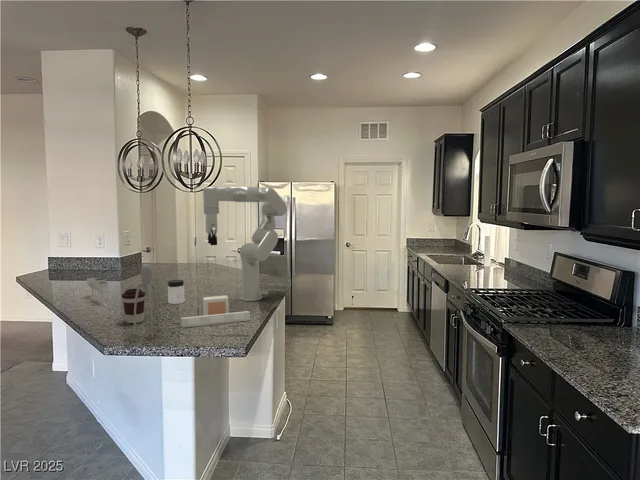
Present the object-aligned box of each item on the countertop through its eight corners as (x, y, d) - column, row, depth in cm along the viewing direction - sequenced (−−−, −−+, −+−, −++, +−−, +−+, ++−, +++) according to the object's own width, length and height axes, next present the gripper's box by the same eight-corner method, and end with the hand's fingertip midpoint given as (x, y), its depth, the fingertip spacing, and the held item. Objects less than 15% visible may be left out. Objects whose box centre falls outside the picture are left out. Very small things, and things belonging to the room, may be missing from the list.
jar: (170, 304, 234) (169, 283, 233) (166, 302, 241) (165, 280, 240) (187, 302, 239) (186, 281, 238) (182, 299, 246) (181, 278, 245)
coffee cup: (123, 325, 196) (121, 293, 195) (123, 320, 205) (121, 288, 204) (146, 323, 200) (145, 290, 199) (146, 317, 209) (144, 287, 208)
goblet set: (111, 304, 238) (109, 280, 237) (99, 306, 234) (98, 281, 233) (97, 296, 259) (95, 274, 258) (86, 297, 255) (85, 275, 254)
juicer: (138, 331, 188) (135, 262, 185) (160, 330, 188) (157, 261, 186) (130, 338, 177) (126, 265, 175) (153, 337, 178) (149, 265, 175)
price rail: (249, 319, 204) (248, 311, 204) (250, 320, 202) (249, 312, 202) (182, 326, 194) (181, 317, 193) (182, 328, 191) (182, 319, 191)
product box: (203, 318, 208) (203, 297, 207) (227, 315, 212) (226, 295, 211) (205, 321, 202) (204, 300, 201) (229, 318, 206) (228, 298, 205)
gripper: (202, 210, 230) (203, 243, 232) (205, 211, 214) (207, 246, 215) (216, 210, 233) (217, 242, 234) (221, 211, 216) (222, 245, 218)
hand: (212, 244), depth 225 cm, fingers open, 9 cm apart
